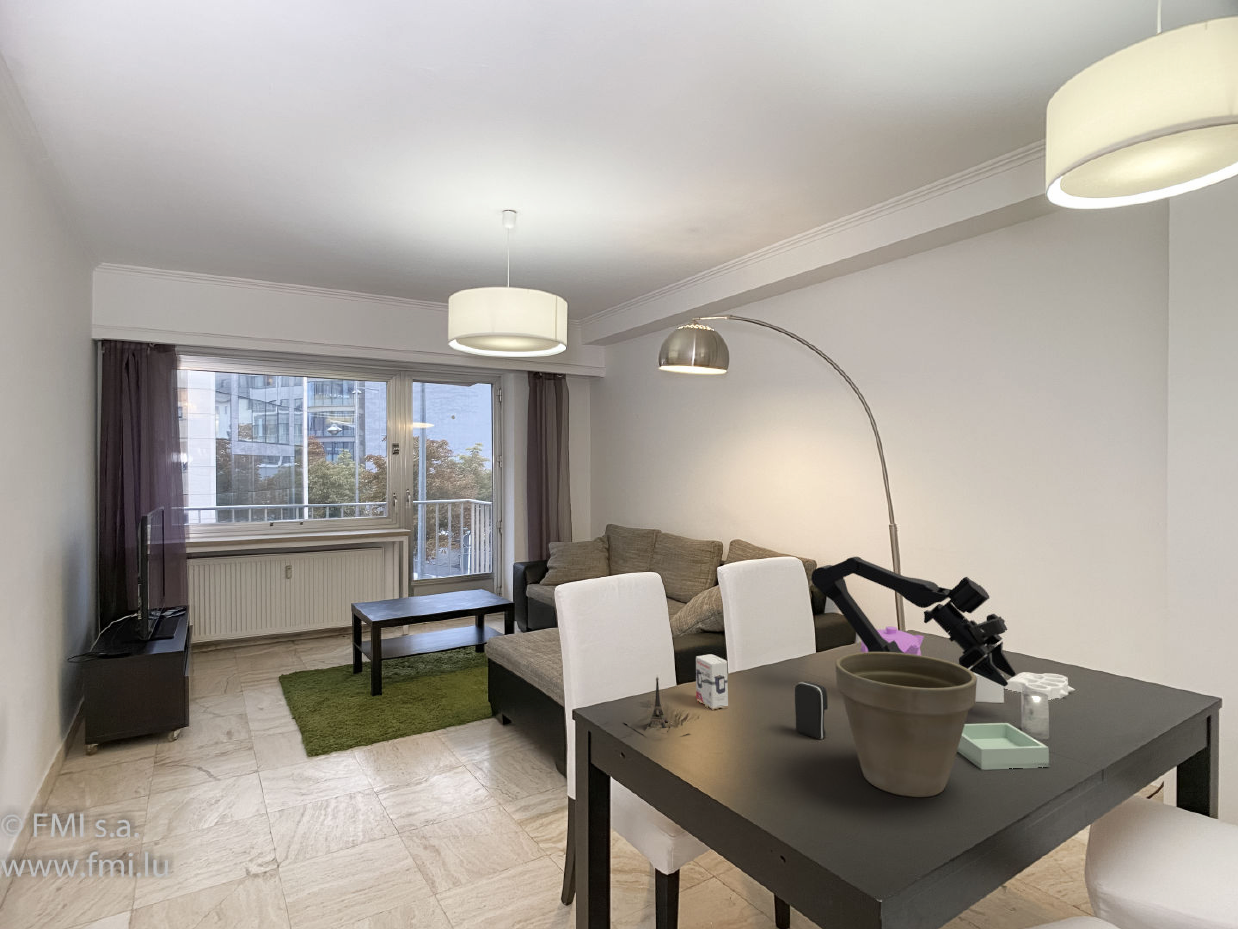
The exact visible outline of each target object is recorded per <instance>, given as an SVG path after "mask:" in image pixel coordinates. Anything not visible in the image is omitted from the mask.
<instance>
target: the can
mask: <svg viewBox="0 0 1238 929" xmlns="http://www.w3.org/2000/svg"><path fill="white" fill-rule="evenodd" d="M1020 702H1021V703H1020V704H1021V709H1020V710H1021V712H1020V713H1021V714H1020V715H1021V731H1022V732H1024V733H1025V734H1027V735H1029V736H1030V737H1032V738H1035V740H1048V739H1049V738H1050V721H1049V720H1050V718H1049V717H1050V716H1049V701H1048V695H1047V694H1044V693H1041V692H1036V691H1022V692H1021V693H1020Z"/></svg>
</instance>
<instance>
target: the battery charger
mask: <svg viewBox="0 0 1238 929" xmlns="http://www.w3.org/2000/svg"><path fill="white" fill-rule="evenodd" d="M794 688H795V689H794V708H795V731H796V733H797V732H798V733H799V732H800V734H802V735H804V734H805V736H807V737H810V736H811V737H810V738H813V737H814V739H818V740H823V738H825V737H826V731H825V711H826V710H828V706H829V704H828V692H827V689H826V687H824V686H823V685H820V684H817V683H814V682H810V681H803V682H799V683H797V684H795V687H794Z"/></svg>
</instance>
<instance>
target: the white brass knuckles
mask: <svg viewBox="0 0 1238 929" xmlns="http://www.w3.org/2000/svg"><path fill="white" fill-rule="evenodd" d="M1006 681H1007V682H1008V685H1006V686H1005V687H1004V690H1006V689H1008V690H1012V691H1011V692H1013V691H1017V692H1016V693H1019V692H1022V691H1036V692H1041V693H1044V694H1047V695H1048V700H1051V699H1052V700H1055V698H1059V699H1063V697H1064V698H1065V696H1068V695H1069V692H1073V691H1075V690H1076V689H1075V688H1073V687H1071V686H1069V678H1068V677H1067V676H1066V675H1065V676H1064V675H1062V674H1058V673H1046V672H1045V673H1034V672H1029V671H1027V672H1023V671H1022V672H1020V673H1017V674H1016V675H1015V676H1013V677H1010V679H1006ZM1008 690H1007V691H1008ZM1059 699H1058V700H1059ZM1052 700H1051V701H1052Z"/></svg>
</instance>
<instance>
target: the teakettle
mask: <svg viewBox="0 0 1238 929" xmlns="http://www.w3.org/2000/svg"><path fill="white" fill-rule="evenodd" d="M875 629H876V630H877V631H878V633H879V634H880V635H881V637H882V638H883V639H885V640H886V641H887V642H889V643H890V642H892V641H895V642H896V643H897V645H898V647H899V648H900V650H901V651H903V652H904V653H906V654H914V655H921V656H922V652H921V645H922V644H923V640H924V639H925V636H924V635H922V634H921V635H920V634H915V635H913V634H911V633H909V632H906V631H902V630H898V628H897V627H896V626H886V627H885V629H877V628H875ZM861 652H868V649H867V647H866V645H865V644H864V643H863V641H862V640H861V643H860V653H861Z"/></svg>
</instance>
